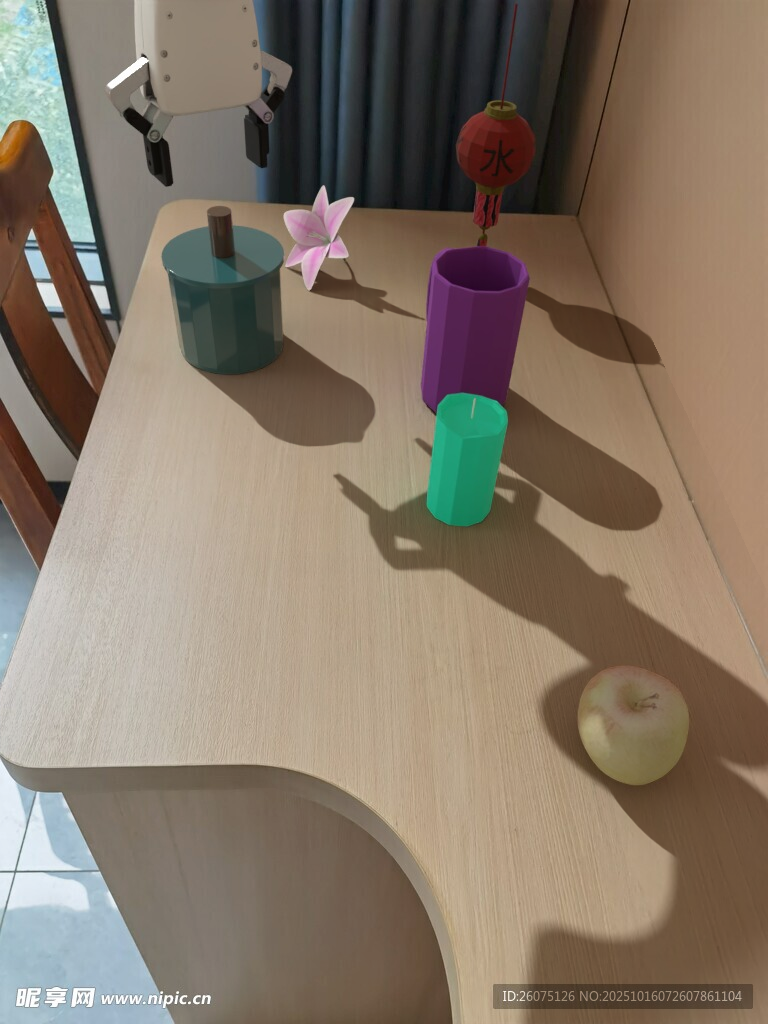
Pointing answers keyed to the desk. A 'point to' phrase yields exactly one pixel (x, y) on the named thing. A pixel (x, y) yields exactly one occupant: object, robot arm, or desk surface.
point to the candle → (465, 458)
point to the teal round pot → (229, 325)
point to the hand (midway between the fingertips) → (211, 171)
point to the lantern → (494, 153)
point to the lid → (222, 254)
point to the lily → (316, 234)
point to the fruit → (633, 724)
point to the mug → (472, 323)
